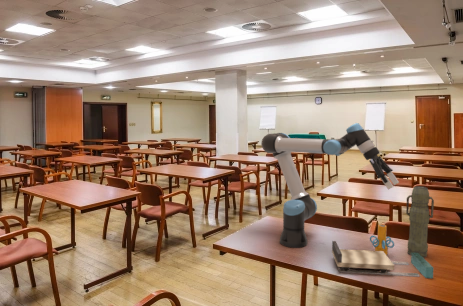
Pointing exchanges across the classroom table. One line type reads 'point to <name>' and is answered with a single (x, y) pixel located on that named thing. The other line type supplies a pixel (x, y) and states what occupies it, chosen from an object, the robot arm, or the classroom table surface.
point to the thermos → (419, 220)
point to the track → (415, 260)
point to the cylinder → (382, 240)
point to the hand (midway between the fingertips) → (394, 186)
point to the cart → (361, 259)
